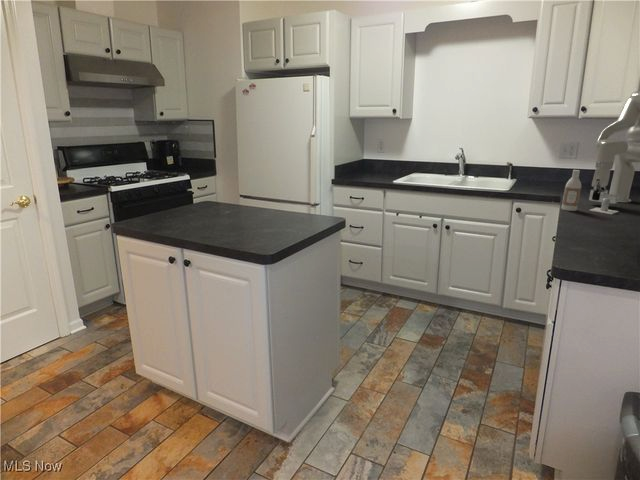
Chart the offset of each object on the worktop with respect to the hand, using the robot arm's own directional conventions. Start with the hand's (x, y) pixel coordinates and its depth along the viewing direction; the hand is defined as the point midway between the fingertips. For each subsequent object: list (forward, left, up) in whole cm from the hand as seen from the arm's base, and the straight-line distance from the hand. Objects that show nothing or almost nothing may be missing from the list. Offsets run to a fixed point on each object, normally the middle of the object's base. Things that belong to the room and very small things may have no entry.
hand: (597, 198), depth 230 cm
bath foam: (+25, -4, -4) cm, 26 cm away
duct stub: (+13, +8, -4) cm, 16 cm away
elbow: (0, +3, -1) cm, 3 cm away
